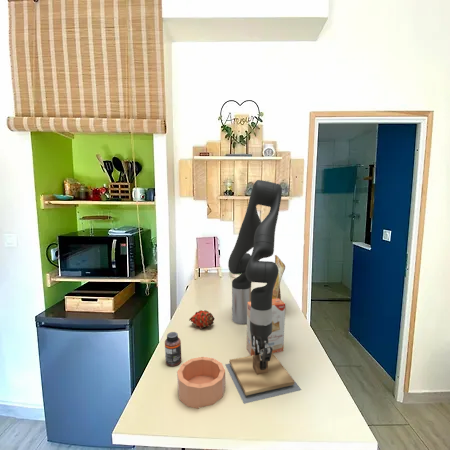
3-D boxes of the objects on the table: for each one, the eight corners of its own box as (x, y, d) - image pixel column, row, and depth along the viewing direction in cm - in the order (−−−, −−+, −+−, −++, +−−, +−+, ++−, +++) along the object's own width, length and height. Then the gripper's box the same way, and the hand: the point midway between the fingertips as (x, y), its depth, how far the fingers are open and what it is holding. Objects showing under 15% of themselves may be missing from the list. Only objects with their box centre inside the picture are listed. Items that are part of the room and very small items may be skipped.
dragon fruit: (216, 331, 136) (191, 333, 137) (216, 314, 142) (192, 317, 143) (212, 322, 130) (186, 325, 131) (212, 305, 136) (187, 308, 137)
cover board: (229, 362, 107) (229, 348, 106) (271, 354, 112) (272, 341, 111) (245, 395, 91) (245, 379, 90) (294, 384, 96) (294, 368, 95)
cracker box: (251, 358, 112) (251, 307, 109) (246, 350, 118) (246, 301, 115) (284, 352, 116) (285, 303, 113) (277, 344, 122) (278, 297, 118)
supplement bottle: (174, 355, 115) (173, 328, 113) (184, 361, 111) (183, 333, 109) (162, 362, 110) (161, 335, 108) (172, 369, 107) (171, 340, 105)
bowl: (175, 380, 101) (175, 361, 100) (217, 371, 105) (217, 354, 104) (182, 413, 86) (181, 392, 85) (230, 402, 91) (230, 381, 90)
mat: (225, 365, 108) (225, 364, 108) (274, 356, 114) (274, 354, 114) (243, 405, 89) (243, 403, 89) (301, 391, 95) (301, 389, 95)
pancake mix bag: (279, 302, 163) (281, 254, 158) (284, 319, 144) (285, 264, 140) (267, 302, 163) (268, 253, 159) (270, 318, 144) (271, 264, 140)
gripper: (243, 311, 104) (243, 355, 107) (259, 331, 90) (258, 380, 93) (262, 308, 106) (262, 351, 109) (281, 327, 92) (279, 376, 95)
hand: (260, 364), depth 101 cm, fingers closed on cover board, 4 cm apart
